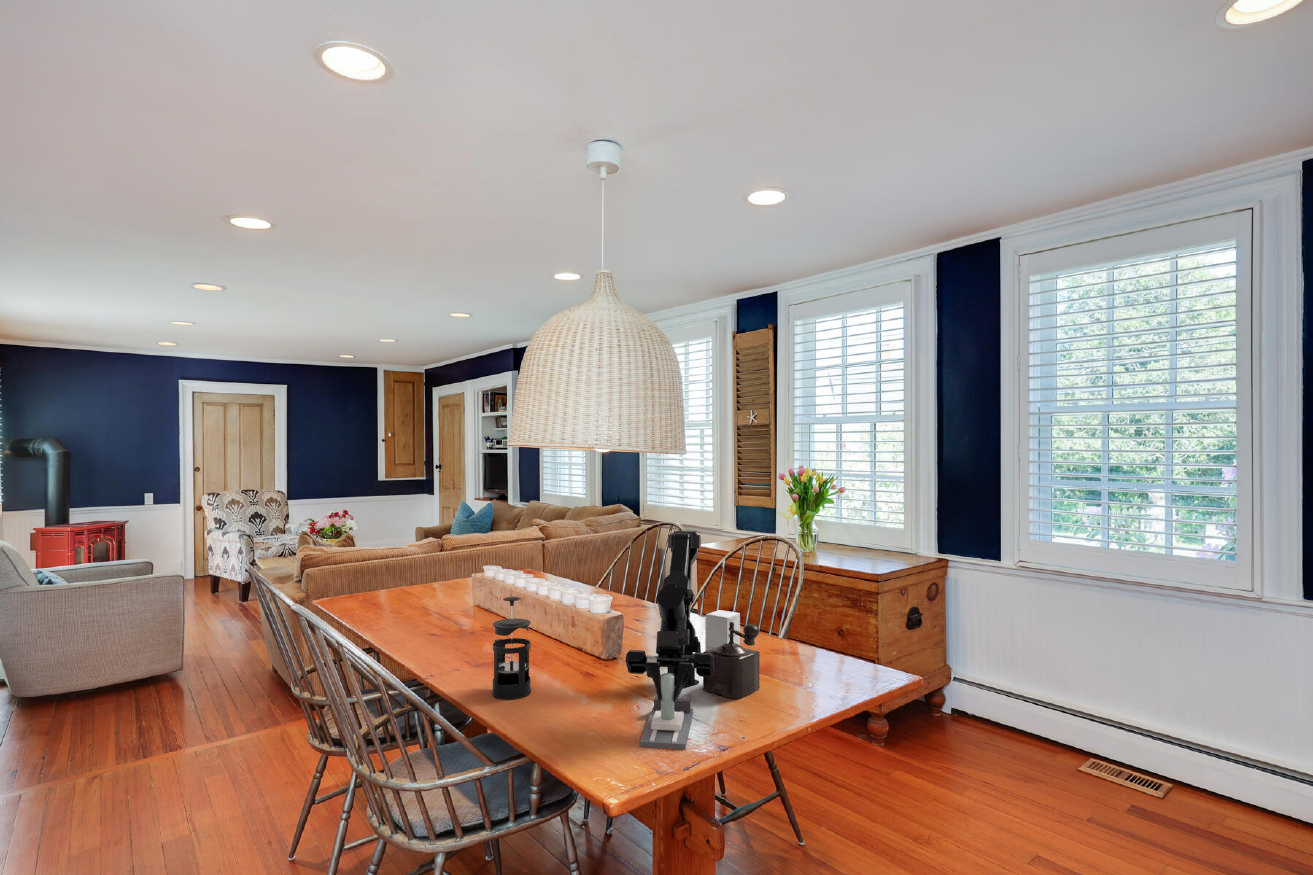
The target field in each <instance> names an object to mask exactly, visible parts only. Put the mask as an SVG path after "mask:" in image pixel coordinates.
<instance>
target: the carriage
mask: <svg viewBox="0 0 1313 875" xmlns="http://www.w3.org/2000/svg"><path fill="white" fill-rule="evenodd" d="M660 674H661V673H660ZM674 690H675V686H674V674H672V673H667V672H665V673H664V672H663V673H662V674H661V711H655V714H654V717H653V720H652V723H651V729H655V730H674V731H681V727H682V723H683V718H684V712H674Z"/></svg>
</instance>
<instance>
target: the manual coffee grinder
mask: <svg viewBox="0 0 1313 875" xmlns="http://www.w3.org/2000/svg"><path fill="white" fill-rule="evenodd" d="M729 626H730V627H729V631H730V641H729V643H726V644H723V645H721V646H719V647H716V648H713V649H710V650H707V651H703V652H702V653H711V654H712V655H713V658H714V676H712V677H702V685H703V686H702V692H703V691H704V692H708V693H710V694H713V695H715V696H719V697H724V698H730V699H735V700H739V699H742V698H745V697H748V696H750V695H751V694H750V693H752V694H754V693H756V692H758V691H759V690H760V687H761V686H760V672H761V671H760V669H761V666H760V662H761V661H760V660H761V659H760V658H761V656H760V655H761V652H760V651H758V650H754V649H750V648H746V647H743V645H741V644H740V645H738V644H736V643H734V641H733V635H734V633H735V634H736V635H738V636H740V638H743V643H744V644H745V645H747V646H748V647H749V646H750V647H751V646H755V645H756V641H755V639H756V638H757V637H758V636H759V635H760V628H759V627H758V626H757V625H755V623H754V624H753V623H748V624H746V625H744V626H743V629H742V631H743V633H742V632H741V631H740V632H738V631H736V630H735V629H734V622H730V623H729ZM758 689H759V690H758ZM755 691H756V692H755ZM753 692H754V693H753ZM749 694H750V695H749ZM747 695H748V696H747Z"/></svg>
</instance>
